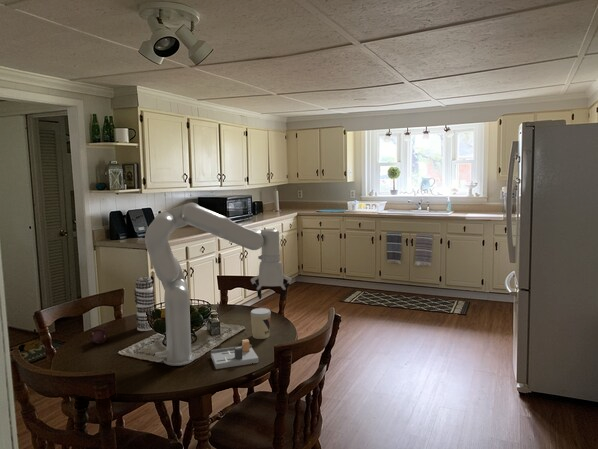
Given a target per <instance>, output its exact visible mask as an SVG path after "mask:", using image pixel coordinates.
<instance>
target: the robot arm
mask: <svg viewBox="0 0 598 449" xmlns="http://www.w3.org/2000/svg"><path fill="white" fill-rule="evenodd" d="M188 225H189V226H190V227H193V228H197V229H198V230H201V231H204V232H207V233H209V234H211V235H213V236H216V237H219V238H220V239H224V240H226V241H228V242H231V243H233V244H235V245H238V246H241V247H243V248H245V249H248V250H251V251H258V250H260V249H261V254H260V255H258V257H257V259H258V260H260V262H259V266H258V275H256V276H254V277H252V278H251V279H250V282H251V284H252V286H253V287H254V288H255V289H256V291H257V297H258V300H262V297H263V296H262V287H281V299H282V300H284V299H285V297H286V290H287V288H288V287H289V286H290V285H291V283H292V280H293V279H292V278H291V277H290V276H287V275H285V274H284V271H283V270H284V269H283V262H282V261H281V256H280V255H281V253H280V252H281V251H280V232H279V231H280V230H278V229H277V228H266V229H257V228H247V227H246V226H243V225H240V224H239V223H236V222H235V221H233V220H232V219H230V218H229V217H227V216H225V215H222V214H219V213H217V212H215V211H213V210H210V209H208V208H205V207H203V206H200V205H199V204H197V203H196V202H187V203H185V204H182V205H180V206H177V207H174V208H170V209H167V210H165V211H162V212H159V213H158V214H157V215H156V216H155V217H154V219H153V220H152V222H151V223H150V224H149V226H148V227H147V229H146V232H145V234H144V241H145V247H146V250H147V253H148V256H149V258H150V261H151V264H152V266H153V269H154V273H155V276H156V278H157V279H158V280H159V281H160V283H161V285H162V287H163V290H164V295H163V296H164V300H163V301H164V303H163V304H164V314H165V315H164V316H165V318H164V319H165V335H166V336H165V337H166V347H165V350H163V351H156V352H155V353H154V354H155V358H158V359H160V360H161V359H162V360H163V363H164V364H165V365H166V366H167V365H168V366H172V367H173V366H174V367H176V366H178V367H179V366H184V365H189V364H190V363H192V362H193V361H195V360H196V354H195V353H194V352H192V337H191V336H192V335H191V313H190V309H191V308H190V307H191V306H190V303H191V302H190V300H191V299H190V291H189V285H188V283H187V279H186V277H185V274H184V272H183V269H182V266H181V264H180V262H179V259H178V258H176V257H175V256H174V254H173V251H172V248H171V245H170V243H169V237H170V235H171V234H173V232H174V231H175V230H177V229H180V228H184V227H186V226H188ZM257 280H258V284H257V282H256V281H257ZM284 280H286V281H287V282H286V283H284Z"/></svg>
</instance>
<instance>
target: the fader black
mask: <svg viewBox="0 0 598 449" xmlns="http://www.w3.org/2000/svg"><path fill="white" fill-rule="evenodd" d="M241 346H242V345H240V346H239V345H237V346H234V347H235V358H236V360H237V359H242V347H241Z"/></svg>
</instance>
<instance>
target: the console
mask: <svg viewBox="0 0 598 449" xmlns="http://www.w3.org/2000/svg"><path fill="white" fill-rule="evenodd" d="M240 346H241V347H242V345H240ZM235 347H236V346H232V347H225V348H216V349H210V358H211V360H212V363H213V365H214V368H215V370H218V369H225V368H230V367H231V368H232V367H238V366H245V365H251V364H252V363H253V364H257V363H259V356H258V355H257V353H256V352H255V351H254V349H253V346H252V344H250V351H247V352H244V351H243V349H242V359H237V360H236V358H235Z"/></svg>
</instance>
